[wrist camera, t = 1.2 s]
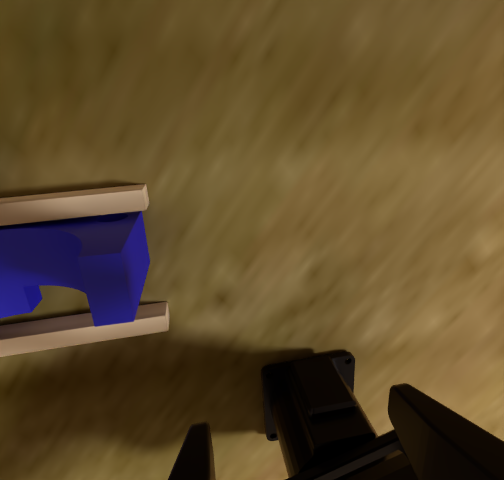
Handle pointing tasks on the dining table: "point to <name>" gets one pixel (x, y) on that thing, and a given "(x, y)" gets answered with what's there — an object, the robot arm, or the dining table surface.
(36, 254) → the blue cradle block
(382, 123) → the dining table surface
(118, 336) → the guide track
